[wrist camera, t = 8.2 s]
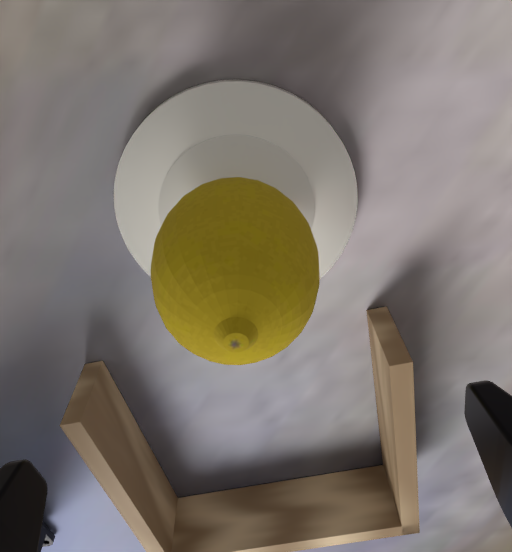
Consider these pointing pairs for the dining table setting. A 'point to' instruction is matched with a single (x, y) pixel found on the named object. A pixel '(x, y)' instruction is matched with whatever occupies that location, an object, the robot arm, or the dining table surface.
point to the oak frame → (261, 498)
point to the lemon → (235, 271)
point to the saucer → (235, 161)
